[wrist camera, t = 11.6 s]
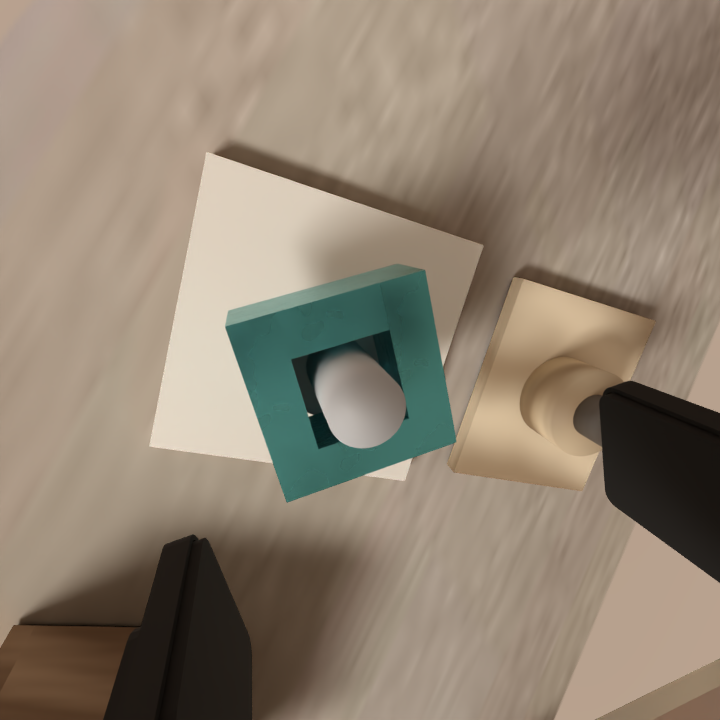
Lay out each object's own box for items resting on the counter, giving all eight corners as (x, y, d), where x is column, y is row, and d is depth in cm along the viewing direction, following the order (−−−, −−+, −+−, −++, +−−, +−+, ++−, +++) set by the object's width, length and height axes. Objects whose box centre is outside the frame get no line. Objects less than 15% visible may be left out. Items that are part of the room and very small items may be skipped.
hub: (399, 472, 27) (480, 601, 18) (153, 437, 23) (88, 583, 13) (474, 244, 24) (620, 254, 15) (208, 155, 20) (175, 89, 10)
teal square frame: (427, 412, 20) (456, 442, 18) (280, 462, 19) (286, 502, 16) (397, 263, 18) (425, 269, 15) (228, 310, 17) (224, 326, 14)
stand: (571, 483, 31) (685, 571, 23) (447, 464, 28) (528, 558, 20) (642, 318, 28) (797, 352, 20) (513, 277, 25) (637, 299, 17)
